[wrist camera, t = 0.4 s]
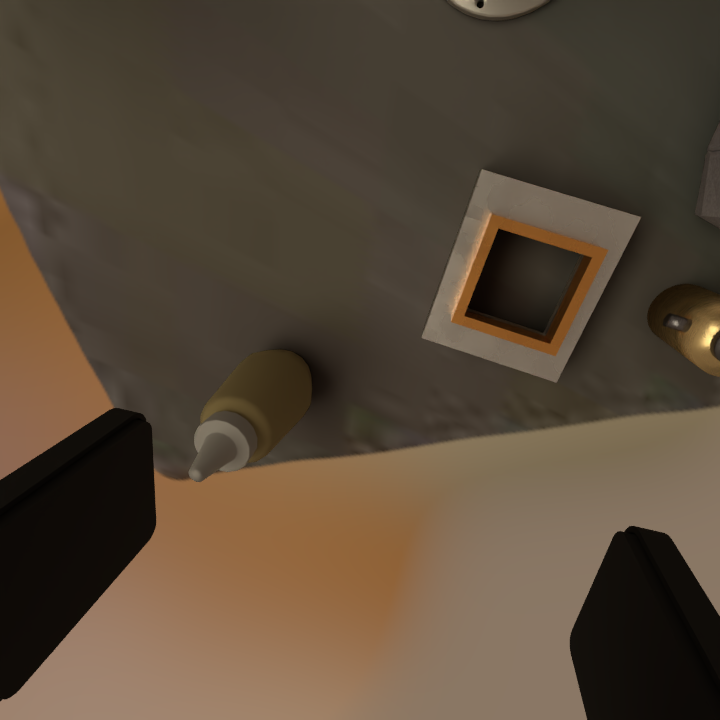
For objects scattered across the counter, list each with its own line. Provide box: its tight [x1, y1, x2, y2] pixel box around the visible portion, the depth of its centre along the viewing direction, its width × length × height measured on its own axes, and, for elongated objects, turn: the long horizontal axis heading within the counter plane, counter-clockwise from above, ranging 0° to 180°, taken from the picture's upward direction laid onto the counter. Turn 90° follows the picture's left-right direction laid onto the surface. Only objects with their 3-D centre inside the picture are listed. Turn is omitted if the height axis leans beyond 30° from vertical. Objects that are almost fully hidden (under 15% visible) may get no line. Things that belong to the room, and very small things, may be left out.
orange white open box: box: [422, 169, 641, 382], centre depth 37 cm, size 14×12×6 cm
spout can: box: [647, 284, 720, 377], centre depth 34 cm, size 6×5×9 cm
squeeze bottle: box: [189, 349, 312, 482], centre depth 40 cm, size 8×8×18 cm
